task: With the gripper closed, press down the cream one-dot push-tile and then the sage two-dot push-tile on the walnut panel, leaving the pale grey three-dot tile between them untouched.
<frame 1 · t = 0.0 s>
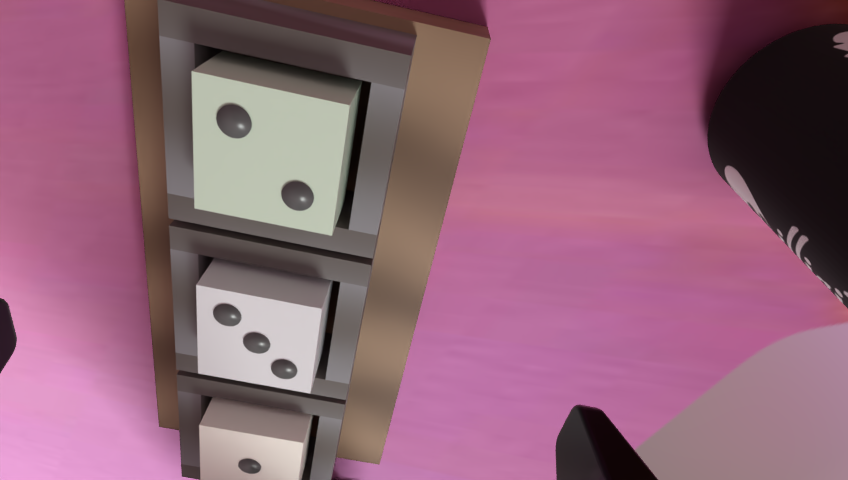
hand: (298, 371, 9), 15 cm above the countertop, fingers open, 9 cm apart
beverage can: (787, 109, 21), on the countertop
tile three: (266, 321, 21), point 5 cm above the countertop, slide at 0.0 cm
tile two: (278, 145, 17), point 5 cm above the countertop, slide at 0.0 cm
panel: (296, 253, 25), on the countertop
tile one: (257, 443, 25), point 5 cm above the countertop, slide at 0.0 cm
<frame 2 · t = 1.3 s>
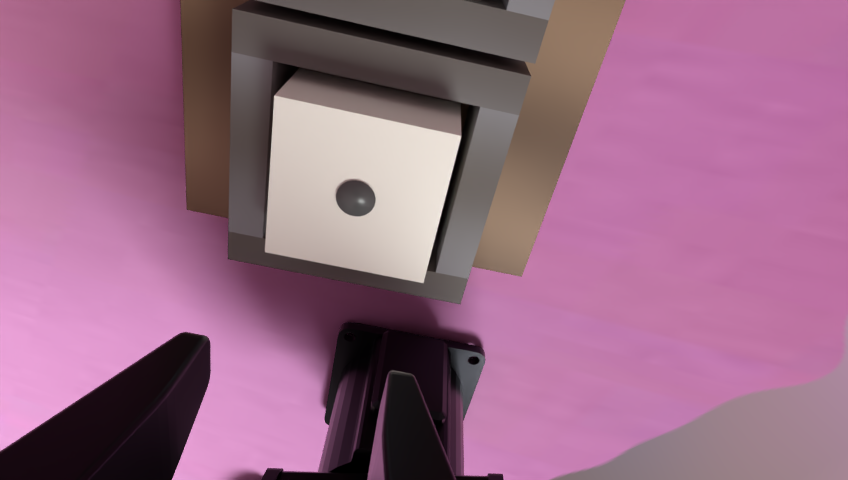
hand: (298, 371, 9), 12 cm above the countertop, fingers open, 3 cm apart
tile one: (362, 178, 15), point 5 cm above the countertop, slide at 0.0 cm
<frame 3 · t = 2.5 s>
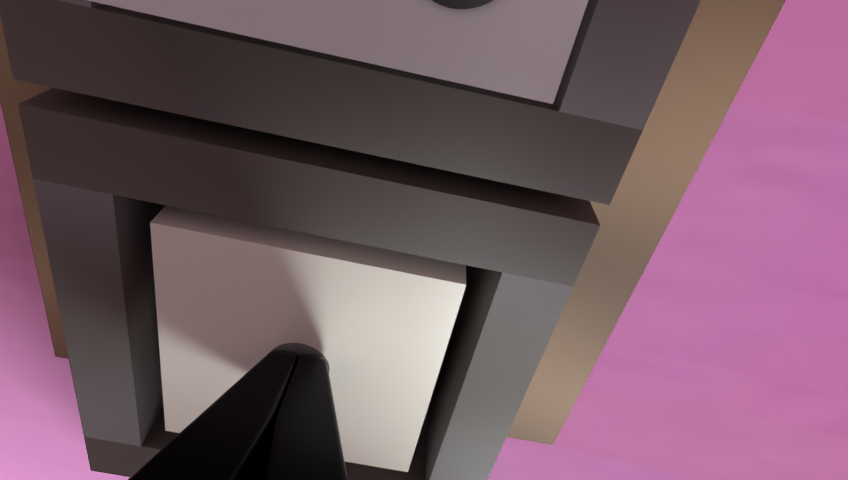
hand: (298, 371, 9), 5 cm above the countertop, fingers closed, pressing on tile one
tile one: (314, 318, 10), point 4 cm above the countertop, slide at 1.3 cm, touching gripper
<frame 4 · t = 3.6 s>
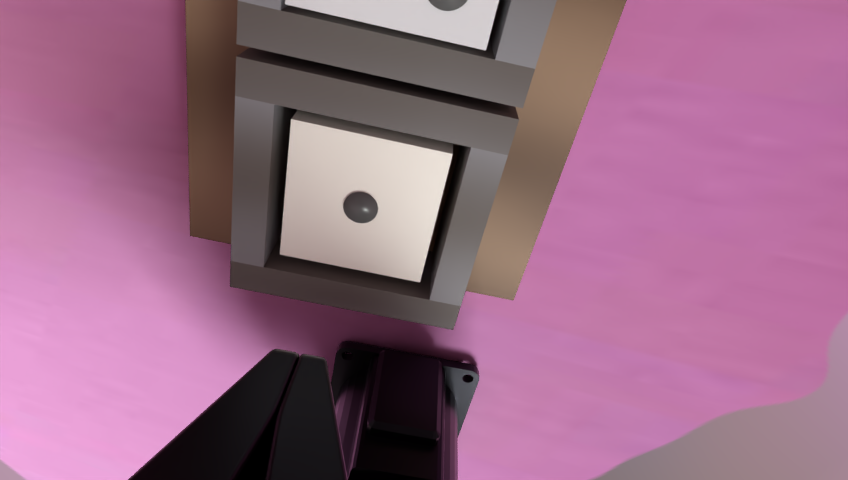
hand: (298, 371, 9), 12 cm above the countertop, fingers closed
tile one: (366, 189, 17), point 3 cm above the countertop, slide at 1.5 cm
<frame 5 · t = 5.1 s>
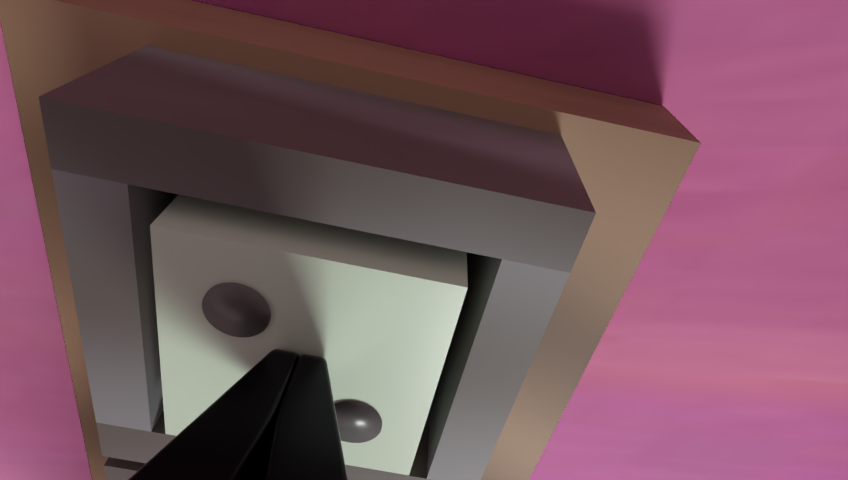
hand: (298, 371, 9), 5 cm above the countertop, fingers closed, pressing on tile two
tile two: (315, 320, 10), point 4 cm above the countertop, slide at 0.9 cm, touching gripper
panel: (319, 419, 17), on the countertop
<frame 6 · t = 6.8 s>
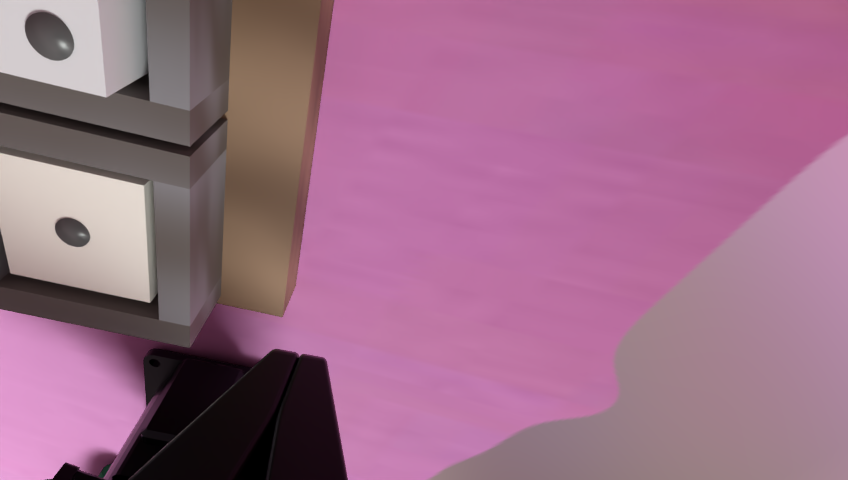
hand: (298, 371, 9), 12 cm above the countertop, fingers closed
tile one: (95, 212, 17), point 3 cm above the countertop, slide at 1.5 cm
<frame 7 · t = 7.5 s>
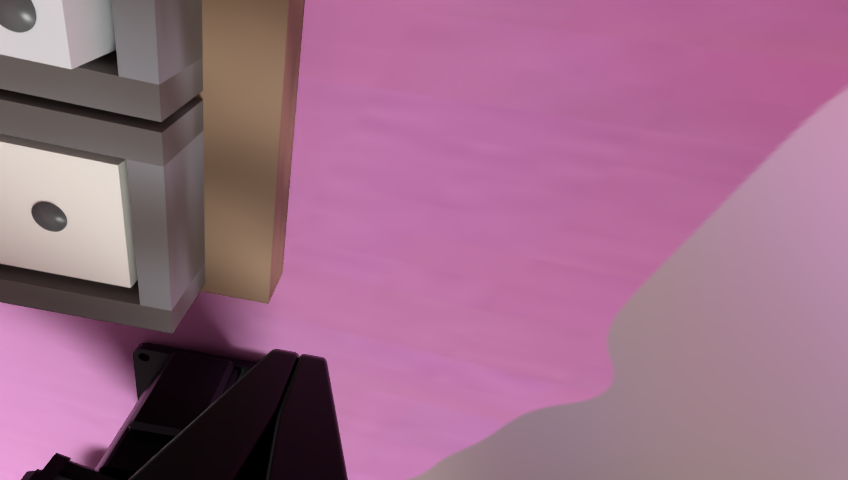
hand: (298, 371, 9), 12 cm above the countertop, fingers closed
tile one: (73, 198, 17), point 3 cm above the countertop, slide at 1.5 cm
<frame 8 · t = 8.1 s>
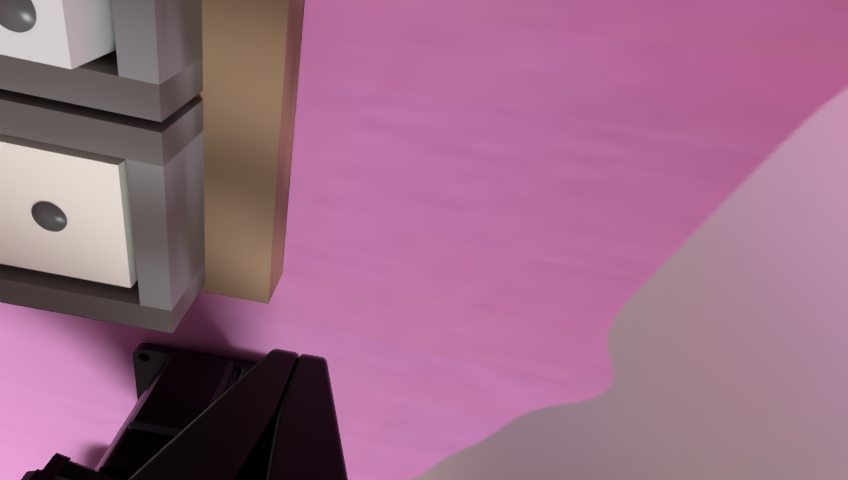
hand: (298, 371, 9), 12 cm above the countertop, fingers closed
tile one: (73, 198, 17), point 3 cm above the countertop, slide at 1.5 cm
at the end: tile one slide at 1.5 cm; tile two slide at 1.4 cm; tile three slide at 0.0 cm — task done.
